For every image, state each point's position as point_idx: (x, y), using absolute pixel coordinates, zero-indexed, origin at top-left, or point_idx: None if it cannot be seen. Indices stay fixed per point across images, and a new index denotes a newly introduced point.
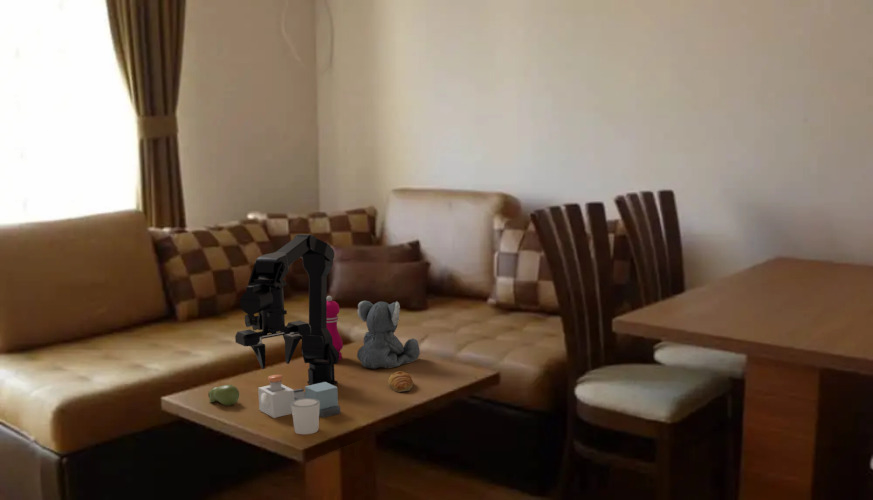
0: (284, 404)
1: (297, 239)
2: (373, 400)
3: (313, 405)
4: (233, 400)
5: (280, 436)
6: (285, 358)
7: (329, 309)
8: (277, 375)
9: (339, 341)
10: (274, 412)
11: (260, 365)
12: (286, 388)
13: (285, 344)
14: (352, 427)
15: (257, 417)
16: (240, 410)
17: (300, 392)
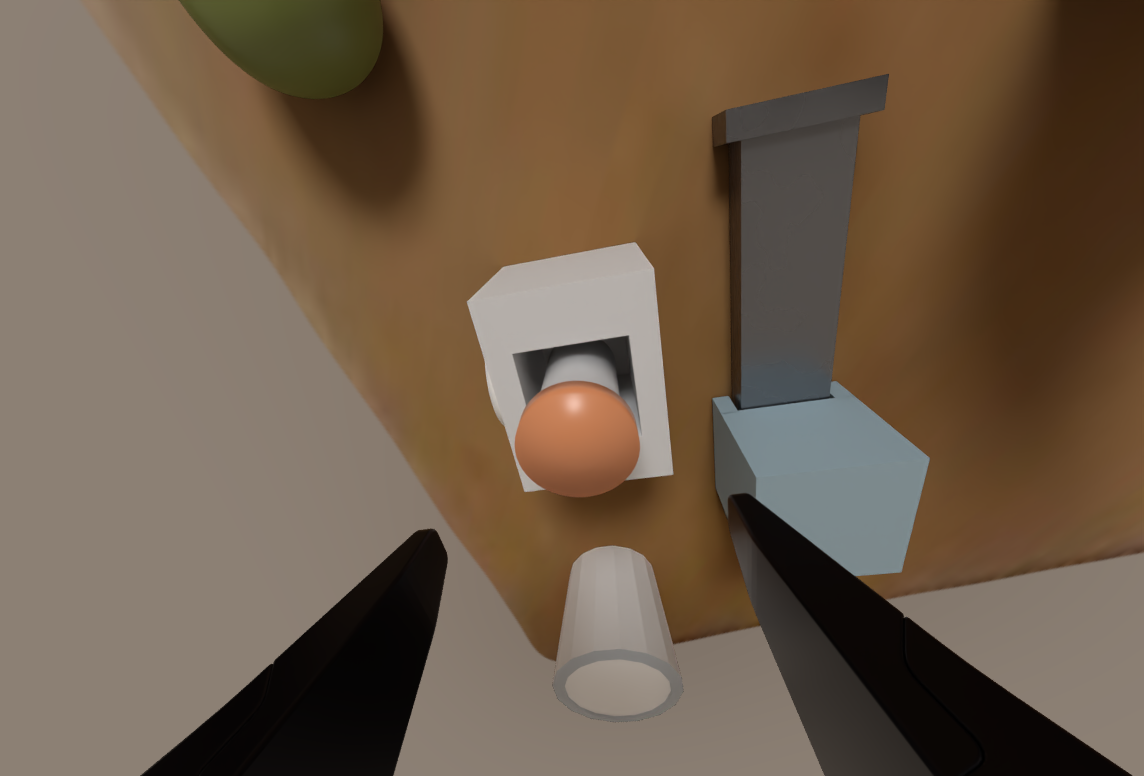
0: None
1: None
2: (1066, 426)
3: (632, 719)
4: (339, 94)
5: (513, 579)
6: (746, 531)
7: None
8: (605, 427)
9: None
10: None
11: (396, 552)
12: (646, 423)
13: (912, 765)
14: (755, 617)
15: (473, 369)
16: (400, 210)
17: (827, 161)
